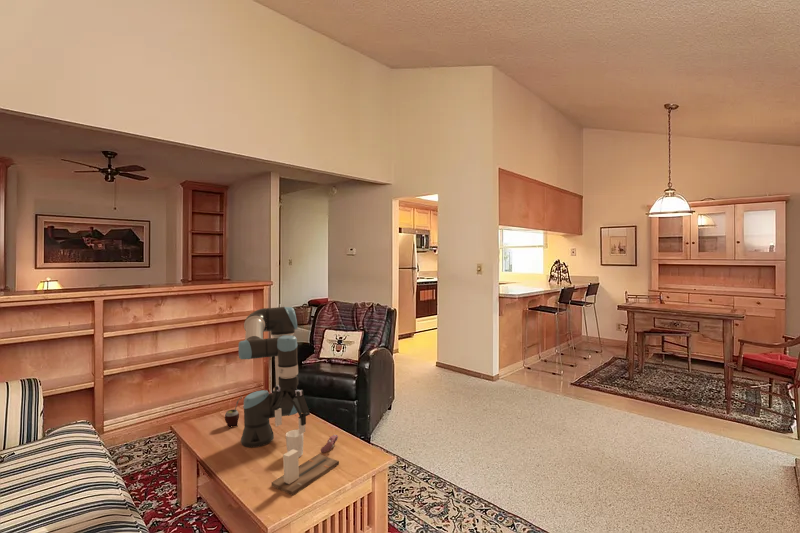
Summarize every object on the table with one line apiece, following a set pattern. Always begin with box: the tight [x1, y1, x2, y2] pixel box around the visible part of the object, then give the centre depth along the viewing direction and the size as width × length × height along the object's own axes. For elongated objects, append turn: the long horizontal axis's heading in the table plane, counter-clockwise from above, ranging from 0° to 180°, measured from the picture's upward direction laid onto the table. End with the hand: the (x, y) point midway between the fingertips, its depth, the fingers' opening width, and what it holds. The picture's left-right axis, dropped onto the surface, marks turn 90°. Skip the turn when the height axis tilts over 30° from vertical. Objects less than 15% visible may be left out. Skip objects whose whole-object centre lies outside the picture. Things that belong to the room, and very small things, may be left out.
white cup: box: [285, 428, 305, 458], centre depth 183 cm, size 8×8×10 cm
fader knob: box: [282, 449, 300, 484], centre depth 160 cm, size 3×5×11 cm, turn 146°
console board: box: [271, 453, 340, 497], centre depth 166 cm, size 12×26×2 cm, turn 146°
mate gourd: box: [224, 396, 243, 428], centre depth 216 cm, size 8×8×15 cm
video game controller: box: [320, 434, 339, 454], centre depth 189 cm, size 10×5×7 cm, turn 169°
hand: (290, 429), depth 159 cm, fingers open, 13 cm apart
